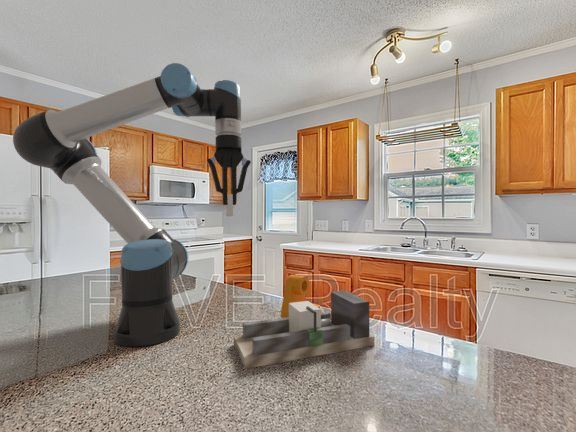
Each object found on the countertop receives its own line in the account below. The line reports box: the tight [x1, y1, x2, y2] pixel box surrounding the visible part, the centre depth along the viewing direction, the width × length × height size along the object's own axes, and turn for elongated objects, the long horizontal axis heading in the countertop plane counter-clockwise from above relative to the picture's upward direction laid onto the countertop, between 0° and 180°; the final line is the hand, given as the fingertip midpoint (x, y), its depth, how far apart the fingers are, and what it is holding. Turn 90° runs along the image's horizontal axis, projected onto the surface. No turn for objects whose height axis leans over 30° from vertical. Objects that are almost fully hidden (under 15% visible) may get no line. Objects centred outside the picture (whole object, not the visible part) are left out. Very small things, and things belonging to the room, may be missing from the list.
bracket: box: [280, 274, 321, 318], centre depth 92 cm, size 11×7×12 cm, turn 147°
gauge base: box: [233, 290, 376, 370], centre depth 73 cm, size 30×12×10 cm, turn 110°
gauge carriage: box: [289, 300, 331, 332], centre depth 73 cm, size 9×10×7 cm
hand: (229, 216), depth 94 cm, fingers closed
